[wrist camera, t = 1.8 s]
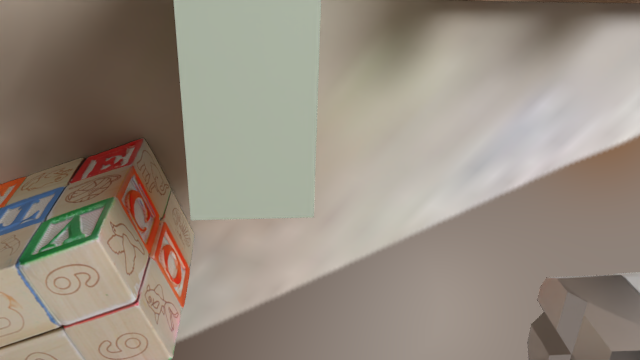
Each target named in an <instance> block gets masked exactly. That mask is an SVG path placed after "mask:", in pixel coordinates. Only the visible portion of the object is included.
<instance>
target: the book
mask: <svg viewBox="0 0 640 360" xmlns="http://www.w3.org/2000/svg"><path fill="white" fill-rule="evenodd" d="M174 13H175V25H176V38H177V51H178V64H179V76H180V89H181V102H182V114H183V127H184V140H185V153H186V165H187V178H188V191H189V203H190V216H191V220H221V219H264V218H308V217H314V199H315V163H316V133H317V103H318V73H319V43H320V13H321V0H174Z"/></svg>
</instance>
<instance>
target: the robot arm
mask: <svg viewBox="0 0 640 360" xmlns="http://www.w3.org/2000/svg"><path fill="white" fill-rule="evenodd" d="M537 301H538V302H539V304H540V306H541V307H542V309H543V311H544V313H542V314H541V315H540V316H539V318H537V319H536V320H535V321H534V322H533V323H532V324H531V327H530V332H529V337H528V342H527V344H528V357H529V360H640V273H621V274H613V275H604V276H572V277H547V278H546V279H545V281H544V282H543V284H542V285H541V287H540V291H539V295H538V298H537Z"/></svg>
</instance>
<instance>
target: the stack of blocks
mask: <svg viewBox="0 0 640 360" xmlns="http://www.w3.org/2000/svg"><path fill="white" fill-rule="evenodd" d="M194 238H195V236H194V233H193V231H192V229H191V228H190V226H189V223H188V221H187V219H186V218H185V216H184V214H183V212H182V210H181V208H180V206H179V204H178V202H177V200H176V198H175V196H174V194H173V192H172V191H171V188H170V185H169V183H168V181H167V179H166V177H165V175H164V173H163V171H162V169H161V167H160V165H159V164H158V162H157V160H156V158H155V156H154V154H153V152H152V151H151V149H150V147H149V146H148V144H147V142H146V141H145V139H144V138H142V139H138V140H136V141H133V142H130V143H128V144H125V145H122V146H119V147H116V148H113V149H110V150H108V151H105V152H102V153H99V154H97V155H93V156H90V157H88V158H87V159H85V158H79V159H76V160H73V161H70V162H67V163H64V164H61V165H58V166H55V167H52V168H49V169H46V170H43V171H40V172H37V173H34V174H32V175H30V176H28V177H22V178H19V179H16V180H13V181H10V182H7V183H4V184H1V185H0V360H170V359H172V358H173V353H174V348H175V343H176V338H177V333H178V327H179V323H180V315H181V309H183V308H184V303H185V298H186V292H187V286H188V280H189V274H190V265H191V258H192V252H193V244H194Z"/></svg>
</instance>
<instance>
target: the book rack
mask: <svg viewBox="0 0 640 360" xmlns="http://www.w3.org/2000/svg"><path fill="white" fill-rule="evenodd" d="M470 1H531V2H593V3H640V0H470Z"/></svg>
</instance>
